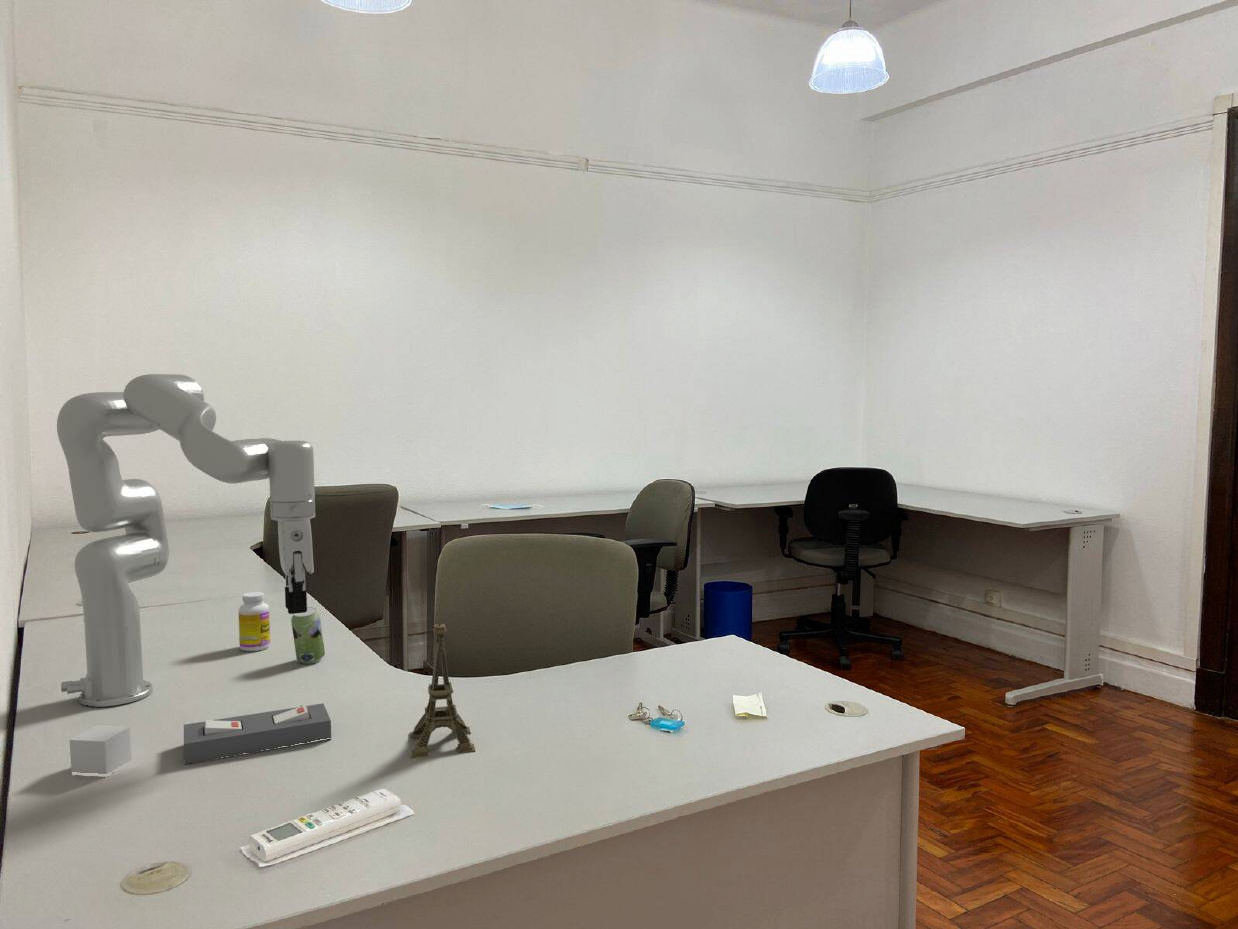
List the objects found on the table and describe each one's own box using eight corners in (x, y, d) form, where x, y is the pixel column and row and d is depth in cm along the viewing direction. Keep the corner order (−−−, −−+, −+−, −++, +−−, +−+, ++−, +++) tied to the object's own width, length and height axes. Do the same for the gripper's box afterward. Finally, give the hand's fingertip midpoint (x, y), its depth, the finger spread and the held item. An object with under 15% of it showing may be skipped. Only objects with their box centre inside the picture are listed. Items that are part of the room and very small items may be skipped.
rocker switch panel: (184, 764, 144) (183, 744, 143) (184, 728, 158) (183, 710, 158) (331, 739, 154) (330, 720, 153) (318, 708, 168) (317, 690, 168)
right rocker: (276, 729, 152) (274, 722, 152) (274, 722, 155) (272, 715, 155) (309, 718, 154) (307, 711, 154) (307, 711, 158) (305, 704, 157)
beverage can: (329, 657, 199) (328, 605, 198) (315, 667, 192) (313, 613, 191) (303, 656, 200) (301, 604, 199) (287, 666, 193) (285, 612, 192)
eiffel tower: (411, 759, 146) (408, 611, 144) (409, 734, 156) (406, 596, 154) (475, 752, 149) (473, 607, 147) (469, 728, 159) (467, 592, 157)
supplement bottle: (263, 652, 203) (261, 597, 201) (234, 652, 203) (232, 597, 201) (275, 643, 209) (273, 590, 208) (247, 643, 209) (245, 590, 208)
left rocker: (204, 734, 147) (206, 726, 147) (204, 727, 150) (205, 719, 150) (240, 735, 150) (242, 728, 150) (239, 728, 153) (240, 720, 153)
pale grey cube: (97, 760, 146) (95, 725, 145) (131, 762, 145) (129, 726, 144) (71, 776, 140) (69, 739, 139) (106, 778, 139) (105, 741, 138)
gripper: (321, 514, 152) (324, 619, 154) (309, 502, 167) (312, 597, 168) (274, 517, 149) (278, 624, 150) (266, 505, 163) (270, 602, 165)
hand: (296, 609), depth 159 cm, fingers open, 3 cm apart
